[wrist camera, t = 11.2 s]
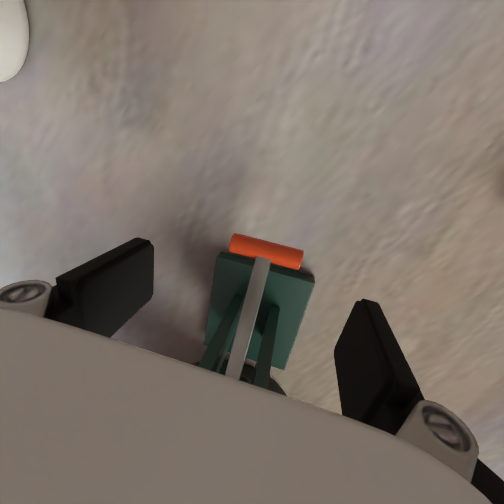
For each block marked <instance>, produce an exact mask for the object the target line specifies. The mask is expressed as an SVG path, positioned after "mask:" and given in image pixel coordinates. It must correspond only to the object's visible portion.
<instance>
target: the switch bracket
mask: <svg viewBox="0 0 504 504" xmlns="http://www.w3.org/2000/svg"><path fill="white" fill-rule="evenodd" d="M254 263H255V261H254V260H250V259H246V258H243V257H239V256H235V255H232V254H228V253H224V252H221V253H220V254H219V255H218V256H217V259H216V266H215V273H214V280H213V286H212V293H211V300H210V307H209V313H208V320H207V327H206V334H205V341H204V345H207V346H208V347H207V349H206V351H205V353H204V355H203V357H202V359H201V361H200V363H199V364H198V366H197V367H201V368H204V369H207V370H210V371H213V372H216V373H219V371H220V369H221V366H222V364H223V361H224V359H225V356H226V354H227V352H229V353H231V349H232V345H233V342H234V338H235V334H236V330H237V327H238V323H239V319H240V316H241V312H242V308H243V304H244V301H245V297H246V293H247V289H248V286H249V282H250V278H251V274H252V271H253V267H254ZM314 285H315V279H314V276H310V275H306V274H302V273H299V272H295V271H291V270H288V269H284V268H280V267H276V266H273V265H270V268H269V272H268V276H267V280H266V283H265V287H264V291H263V295H262V298H261V302H260V306H259V310H258V314H257V317H256V321H255V325H254V329H253V332H252V336H251V340H250V344H249V348H248V351H247V355H246V358H248V359H251V360H254V361H256V365H255V369H254V374H253V378H252V382H251V384H252V385H255V386H258V387H261V388H264V389H267V388H268V381H269V375H270V369H271V366H273V367H276V368H279V369H283V370H285V367H286V364H287V361H288V359H289V356H290V353H291V350H292V347H293V344H294V341H295V339H296V336H297V333H298V330H299V327H300V324H301V322H302V319H303V316H304V313H305V310H306V307H307V304H308V302H309V299H310V296H311V293H312V290H313V287H314Z"/></svg>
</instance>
